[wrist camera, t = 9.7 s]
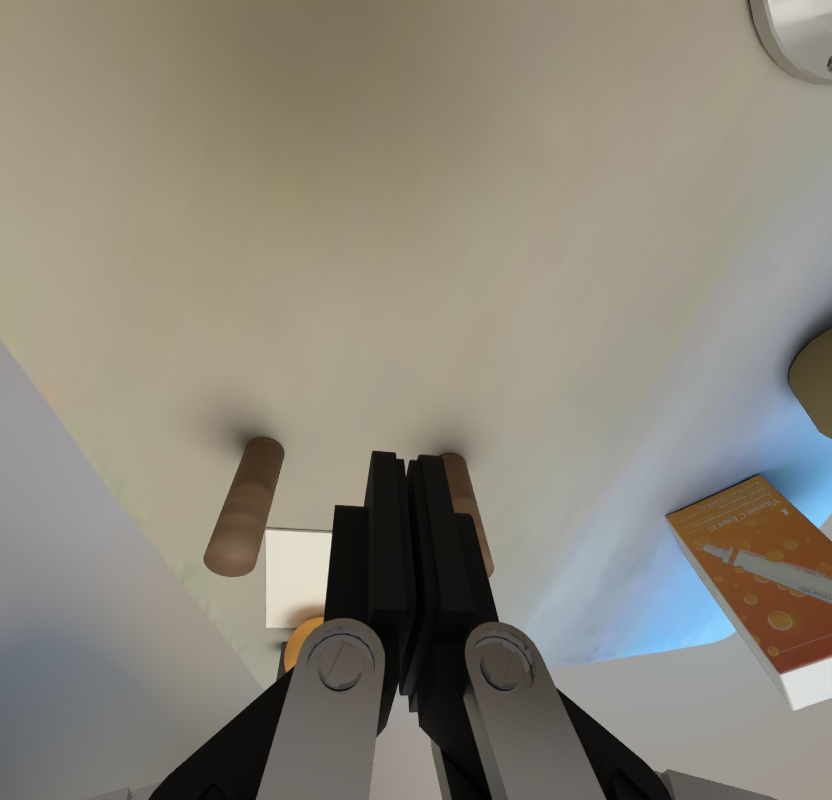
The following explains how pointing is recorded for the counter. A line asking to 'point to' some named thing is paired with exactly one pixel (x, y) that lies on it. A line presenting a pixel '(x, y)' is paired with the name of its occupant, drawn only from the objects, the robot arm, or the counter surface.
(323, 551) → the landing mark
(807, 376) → the squeeze bottle
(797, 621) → the small box
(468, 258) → the counter surface
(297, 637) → the ball
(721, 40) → the counter surface
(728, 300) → the counter surface
